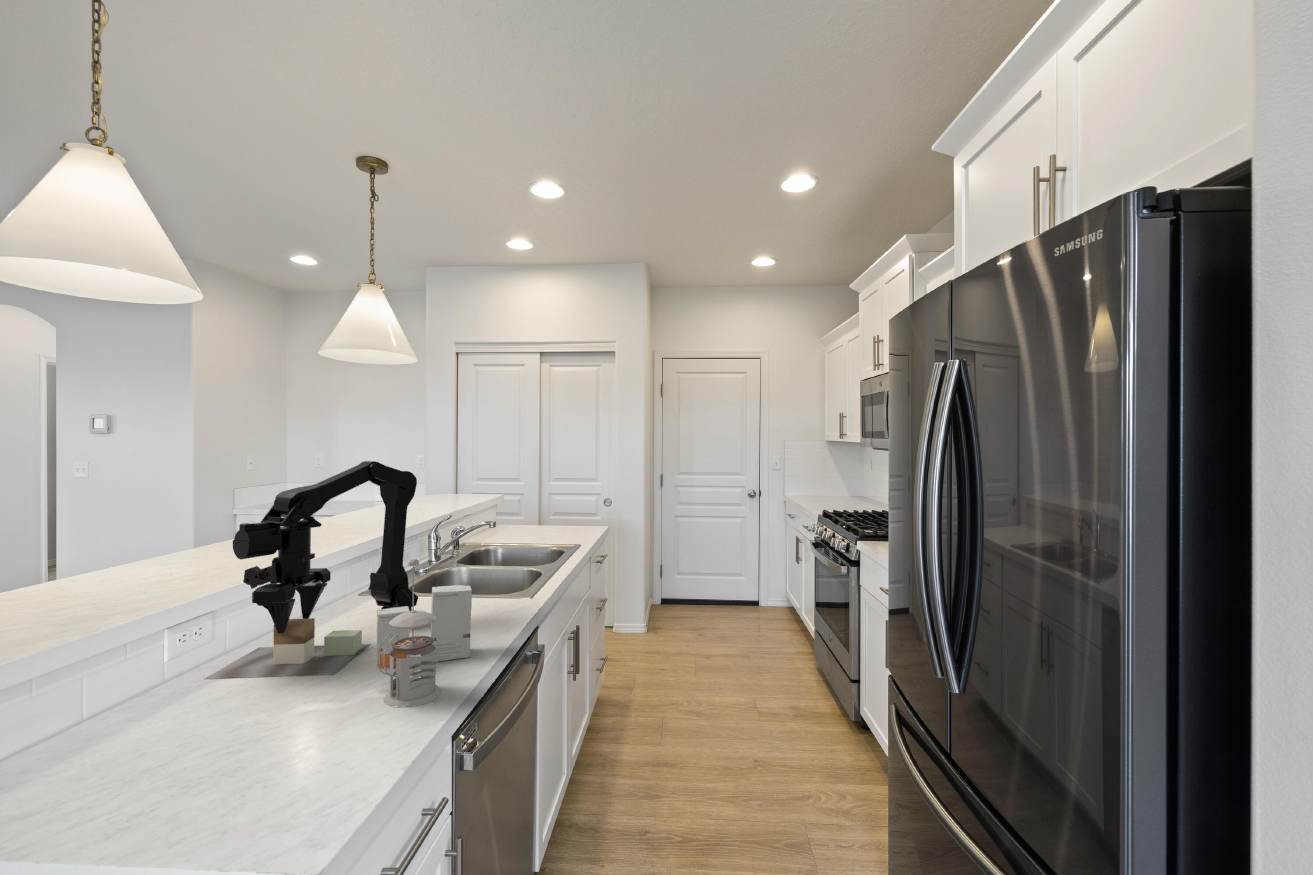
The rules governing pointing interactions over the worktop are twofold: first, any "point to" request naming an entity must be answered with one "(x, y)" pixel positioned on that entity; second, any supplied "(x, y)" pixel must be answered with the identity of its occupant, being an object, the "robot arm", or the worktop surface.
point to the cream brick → (293, 653)
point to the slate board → (283, 665)
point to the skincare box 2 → (451, 621)
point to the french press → (411, 660)
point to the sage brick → (342, 642)
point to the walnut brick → (296, 632)
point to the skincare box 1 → (384, 629)
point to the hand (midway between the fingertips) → (293, 625)
